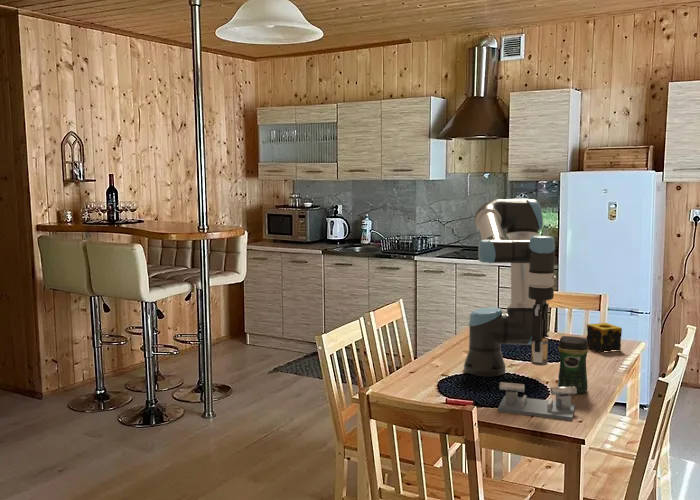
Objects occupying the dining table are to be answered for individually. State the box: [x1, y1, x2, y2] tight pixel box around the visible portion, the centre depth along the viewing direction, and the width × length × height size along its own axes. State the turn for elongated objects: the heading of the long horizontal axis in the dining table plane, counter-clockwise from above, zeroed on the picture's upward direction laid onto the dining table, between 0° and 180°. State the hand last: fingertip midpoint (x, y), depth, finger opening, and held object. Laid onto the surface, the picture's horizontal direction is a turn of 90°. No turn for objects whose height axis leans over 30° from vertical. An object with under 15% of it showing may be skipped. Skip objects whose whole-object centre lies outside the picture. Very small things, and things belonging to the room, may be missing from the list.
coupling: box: [530, 337, 549, 366], centre depth 214 cm, size 5×5×8 cm
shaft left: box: [498, 381, 526, 405], centre depth 217 cm, size 8×4×6 cm, turn 68°
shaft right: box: [550, 386, 578, 409], centre depth 213 cm, size 8×4×6 cm, turn 98°
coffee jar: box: [557, 335, 589, 394], centre depth 231 cm, size 10×8×19 cm
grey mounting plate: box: [497, 394, 576, 421], centre depth 214 cm, size 22×13×3 cm, turn 68°
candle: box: [586, 322, 623, 353], centre depth 285 cm, size 10×10×10 cm
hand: (539, 359), depth 214 cm, fingers closed on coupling, 5 cm apart
